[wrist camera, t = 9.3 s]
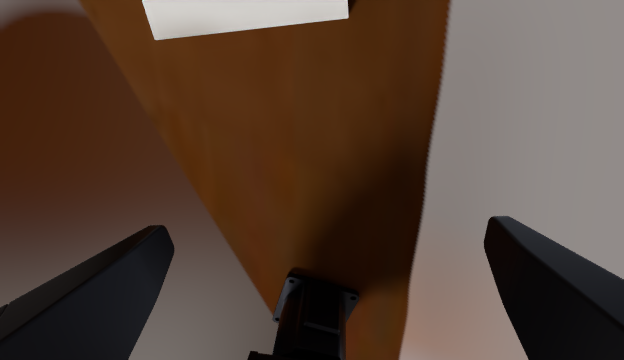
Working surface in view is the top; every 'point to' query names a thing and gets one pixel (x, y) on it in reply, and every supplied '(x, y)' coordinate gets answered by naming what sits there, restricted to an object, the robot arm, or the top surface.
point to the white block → (235, 15)
